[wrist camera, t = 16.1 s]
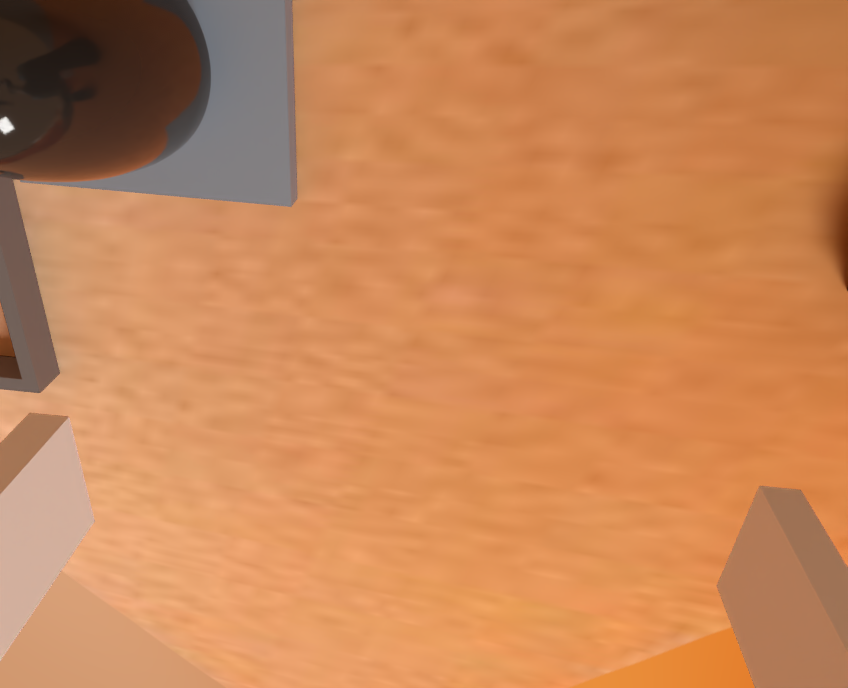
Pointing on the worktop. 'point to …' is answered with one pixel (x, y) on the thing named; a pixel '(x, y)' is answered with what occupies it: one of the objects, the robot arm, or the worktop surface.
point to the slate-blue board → (234, 114)
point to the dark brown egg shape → (98, 86)
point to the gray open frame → (22, 305)
